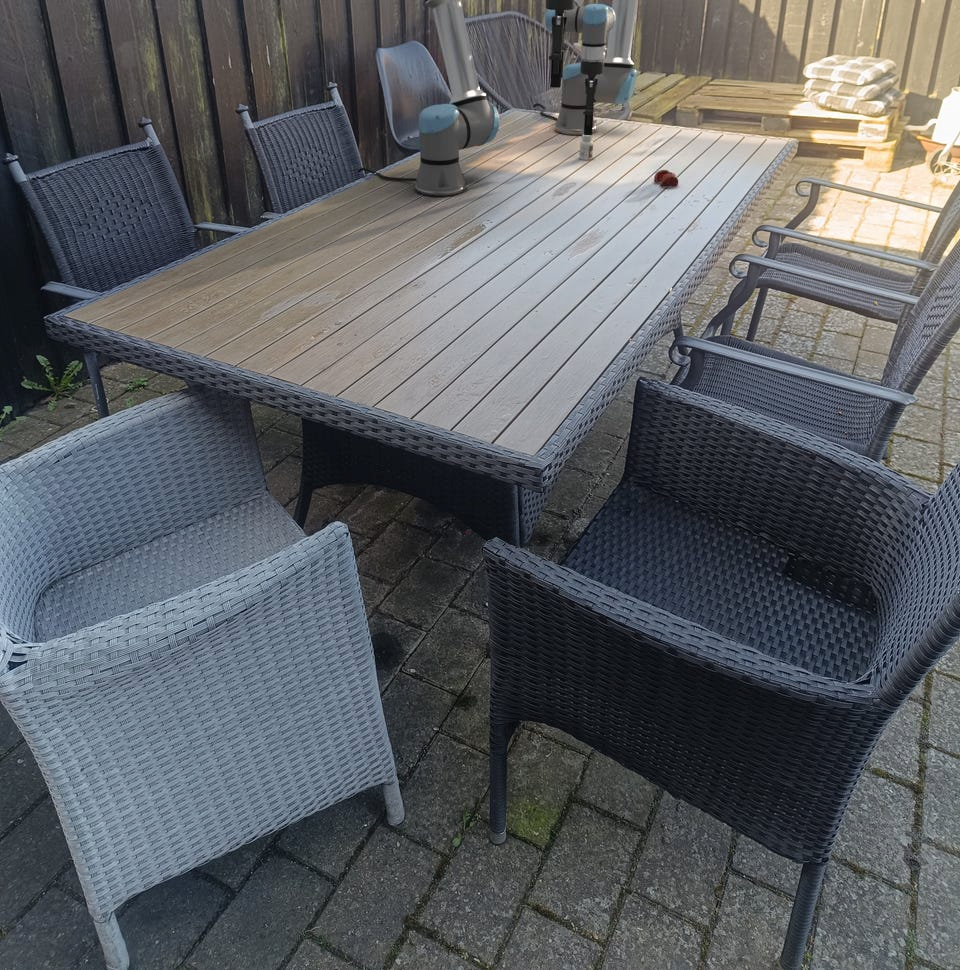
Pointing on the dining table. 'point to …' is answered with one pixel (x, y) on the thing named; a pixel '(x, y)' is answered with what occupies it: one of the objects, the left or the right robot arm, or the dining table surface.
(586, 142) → the pill bottle
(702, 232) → the dining table surface
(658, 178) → the dark red rounded lump
